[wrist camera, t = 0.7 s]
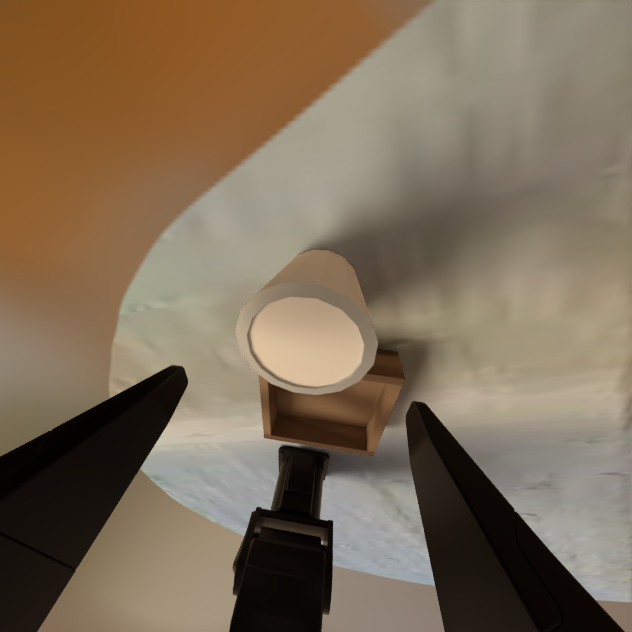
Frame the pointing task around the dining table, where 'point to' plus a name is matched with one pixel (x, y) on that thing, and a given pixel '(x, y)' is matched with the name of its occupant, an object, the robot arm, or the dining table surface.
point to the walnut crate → (336, 410)
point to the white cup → (309, 326)
